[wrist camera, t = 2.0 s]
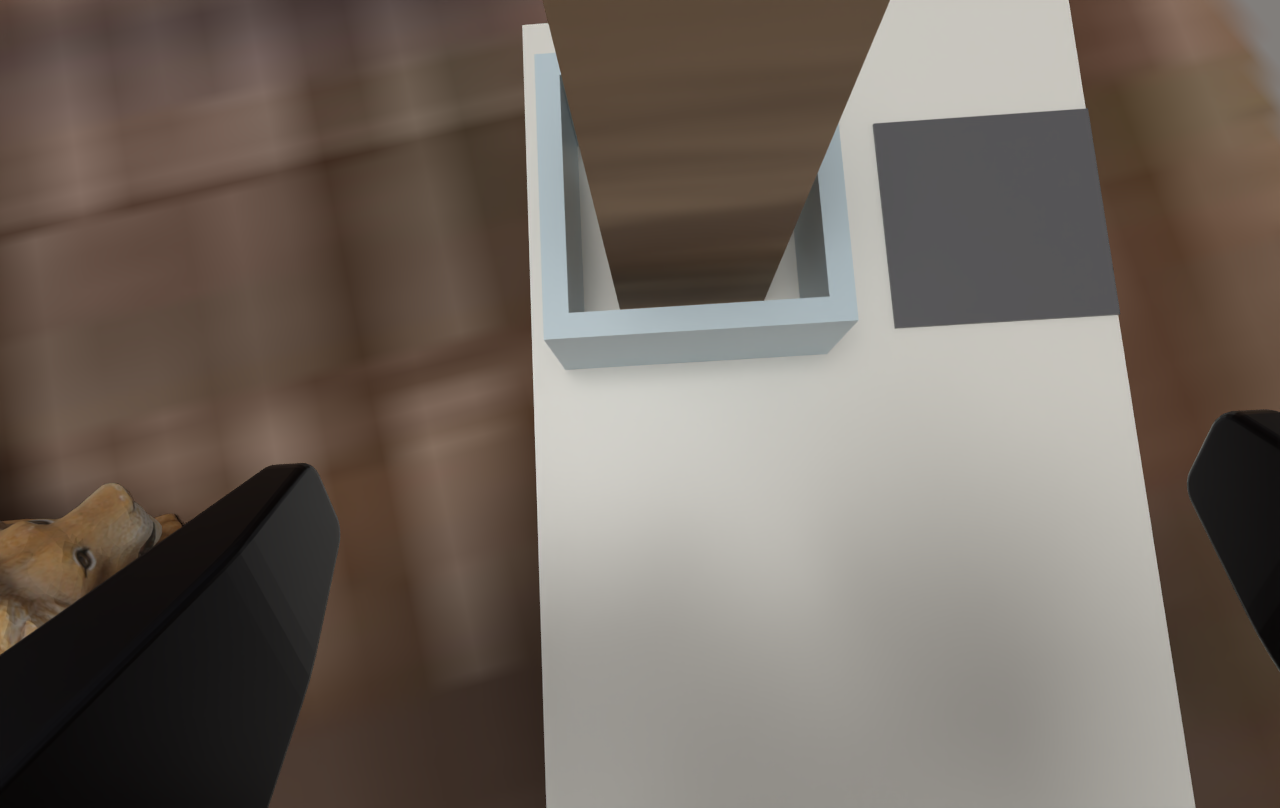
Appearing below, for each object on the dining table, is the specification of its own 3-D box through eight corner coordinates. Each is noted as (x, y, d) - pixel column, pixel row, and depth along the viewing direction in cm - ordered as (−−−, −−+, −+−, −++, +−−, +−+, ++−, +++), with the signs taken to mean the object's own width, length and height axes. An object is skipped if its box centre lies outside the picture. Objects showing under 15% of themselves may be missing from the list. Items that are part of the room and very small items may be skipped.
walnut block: (763, 301, 21) (913, -58, 8) (620, 310, 21) (535, -28, 8) (752, 166, 21) (875, -373, 8) (613, 176, 21) (525, -339, 9)
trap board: (1178, 856, 19) (1209, 876, 18) (555, 878, 20) (548, 899, 18) (1048, 6, 23) (1067, -19, 22) (528, 46, 23) (521, 23, 22)
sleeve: (826, 354, 20) (858, 320, 17) (565, 370, 21) (544, 339, 17) (804, 110, 21) (829, 31, 18) (556, 128, 22) (534, 54, 18)
